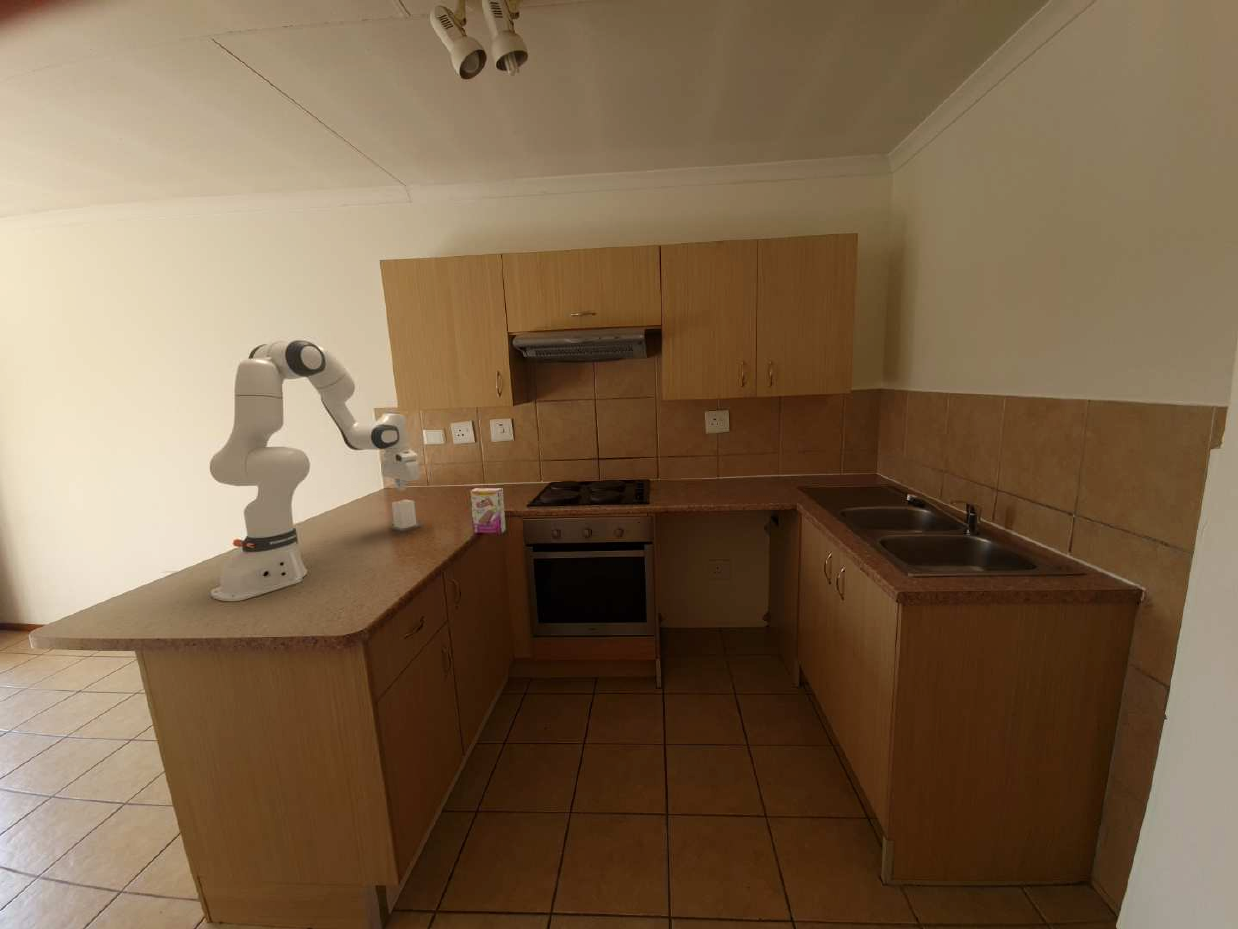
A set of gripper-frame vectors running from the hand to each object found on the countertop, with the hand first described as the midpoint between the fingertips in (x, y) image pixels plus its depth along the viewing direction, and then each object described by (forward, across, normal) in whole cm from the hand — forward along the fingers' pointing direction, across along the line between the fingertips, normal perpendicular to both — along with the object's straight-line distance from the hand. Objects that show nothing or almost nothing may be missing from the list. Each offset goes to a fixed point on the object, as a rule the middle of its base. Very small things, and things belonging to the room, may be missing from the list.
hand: (401, 489), depth 188 cm
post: (+15, 0, 0) cm, 15 cm away
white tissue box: (+14, 0, 0) cm, 14 cm away
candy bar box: (+15, +35, +12) cm, 40 cm away
